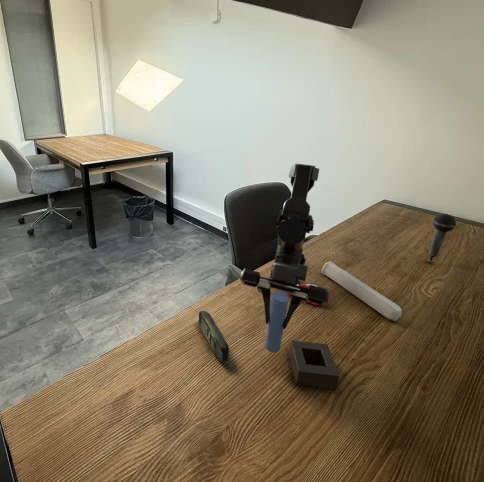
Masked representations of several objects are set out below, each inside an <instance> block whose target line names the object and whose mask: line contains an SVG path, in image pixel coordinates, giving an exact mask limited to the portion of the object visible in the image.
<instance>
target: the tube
mask: <svg viewBox="0 0 484 482" xmlns="http://www.w3.org/2000/svg"><path fill="white" fill-rule="evenodd" d="M321 274H323V275H324V276H327V277H328V278H330V279H331V280H332V281H334V282H335V283H337V284H338V285H339V286H341V287H342V288H344V289H345V290H346V291H348V292H350V294H352V295H353V296H355V297H356V298H358V299H359V300H361V301H362V302H364V303H365V304H367V305H368V306H369V307H371V308H372V309H373V310H375V311H377V312H378V313H379V314H380V315H382V316H383V317H385V318H386V319H387V320H389V321H393V322H396V321H397V320H399V318H401V317H402V315H403V310H402V308H401V306H400V305H398V304H397V303H395V302H394V301H392V300H391V299H389V298H388V297H386V296H384V295H383V294H381V293H379V292H378V291H377V290H375V289H374V288H372V287H371V286H369V285H367V284H366V283H364V282H363V281H361V280H360V279H358V278H356V277H355V276H353V275H352V274H350V273H349V272H347V271H346V270H344V269H343V268H341V267H340V266H338V265H337V264H335V263H334V262H333V261H332V260H330V261H327V262H325V263H324V265H323V267H322V269H321Z"/></svg>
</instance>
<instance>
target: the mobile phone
mask: <svg viewBox="0 0 484 482" xmlns="http://www.w3.org/2000/svg"><path fill="white" fill-rule="evenodd" d="M198 327H199V328H200V330H201V332H202V334H203V336H204V337H205V339H206V340H207V342H208V345H209V347H210V350H211V352H212V353H213V355H214V356H215V357H216V358H217V359H218V360H219V362H225V363H226V364H227V365H228V367H229V368H230V369H231V368H232V367H233V365H232V363H231V362H230V361H229V356H230V347H229V344H228V342H227V341H226V338H225V335H224V333H223V332H222V330H221V328H220V327H219V325H218V324H217V323H216V321H215V319H214V318H213V317H212V315H211V313H210V312H208V311H206V310H201V311H200V310H199V312H198Z"/></svg>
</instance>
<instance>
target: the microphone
mask: <svg viewBox="0 0 484 482" xmlns="http://www.w3.org/2000/svg"><path fill="white" fill-rule="evenodd" d="M431 222H432V226H433V227H434V229H435V230H434V234H433V237H432V240H431V244H430V246H429V251H428V255H429V257H430V258H429V259H428V260H427V262H428V263H429V264H432V263H433V259H434V258H435V257H438V255H439V252H440V250H441V248H442V245H443V242H444V240H445V238H446V235H447V233H448V232H451V231H453V230H454V229H455V228H457V221H456V219H455V218H454V217H453V215H451V214H448V213H439V214H437V215H435V216H434V217H433V218H432V220H431Z"/></svg>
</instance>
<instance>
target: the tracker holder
mask: <svg viewBox="0 0 484 482" xmlns="http://www.w3.org/2000/svg"><path fill="white" fill-rule="evenodd" d="M309 285H313V286H317V287H319V285H317V284H313V283H299V284H297V285H296V286H300V287H304V288H308V287H309ZM287 293H288V294H289V295H290V296H293V293H289V292H287ZM329 300H330V295H329V296H328V302H329ZM306 303H309V304H312V305H314V306H320V305H319V304H316V303H312V302H309V300H308V299H307V301H306Z"/></svg>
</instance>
